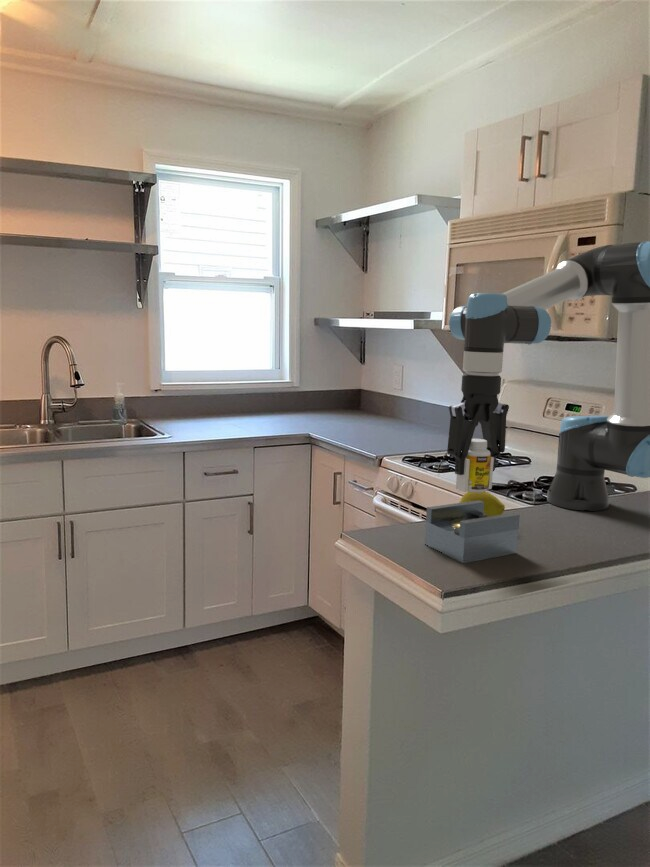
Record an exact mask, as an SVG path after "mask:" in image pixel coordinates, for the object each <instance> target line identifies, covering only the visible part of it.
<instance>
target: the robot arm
mask: <svg viewBox="0 0 650 867" xmlns="http://www.w3.org/2000/svg"><path fill="white" fill-rule="evenodd" d="M593 296H611V305H612V306H613V307H614V308H615V309H616V310H617V312H618V313H617V314H618V315H617V332H616V333H617V336H616V338H617V339H616V340H617V341H616V356H615V358H616V359H615V383H614V384H615V385H614V400H613V401H614V404H613V413H612V414H610V415H602V414H601V415H573V416H570V415H569V416H565V417H564V418H562V419H561V423H560V429H559V432H558V446H557V460H556V470H555V475H554V476H553V478H552V481H551V484H550V486H549V488H548V490H547V493H546V494H547V495H546V501H547V502H548V503H549V504H551V505H554V506H557V507H561V508H564V509H569V510H576V511H584V510H589V511H591V512H592V511H593V512H594V511H597V512H598V511H604V510H607V509H608V508H609V507H610V496H609V495H608V489H607V484H606V480H605V471H608V472H614V473H618V474H621V475H626V476H628V477H631V478H632V477H633V478H634V477H636V478H641V479H647V478H650V241H649V240H646V241H641V242H640V241H638V242H628V243H620V244H618V243H617V244H606V245H602V246H597V247H594V248H591V249H589V250H587V251H585V252H582V253H579V254H578V255H575V256H573V257H570V258H569V259H566V260H564V261H562V262H560V263H559V264H557V266H556V267H555V269H554V270H552V271H549V272H547V273H546V274H543V275H540V276H538V277H536V278H533V279H532V280H530V281H526V282H525V283H523V284H520V285H518V286H516V287H514V288H512V289H509V290H507V291H505V292H502V293H492V292H491V293H490V292H489V293H488V292H477V293H472V294H470V295H469V296H468V299H467V304H466V305H460V306H457V307H456V308H454V310H453V311H452V312H451V314H450V316H449V320H448V326H449V327H448V328H449V331H450V334H451V335H452V336H453V337H454V338H455V339H457V340H460V341H461V340H462V341H464V345H463V346H464V348H463V358H462V359H463V361H462V371H463V372H465V373H463V374H462V375H461V387H460V389H461V393H462V394H463V395H462V399H461V400H460V403H458V404H455V405H453V404H450V405H449V407H448V410H449V416H450V419H449V431H448V437H447V438H448V441H447V450H446V451H447V452H446V453H447V455H449V456H451V457H454V459H455V460H454V462H455V463H454V473H455V475H456V480H455V489H456V490H458V491H460V492H461V491H462V492H464V493H467V492H468V479H469V465H470V459H467V458H466V457H467V454H468V451H469V447H470V444H471V441H472V439H473V437H474V433H475V430H476V427H478V425H479V424H480V427H481V433H482V439H484V440H487V450H489V451H490V467H489V481H488V489H487V490H491V489H492V488H493V487H492V486H493V476H494V475H493V474H494V472H495V470H496V461H497V460H496V459H497V458H500V457H501V456H502V455H501V453H504V452H505V450H506V430H507V416H508V412H509V408H510V407H509V406H510V405H509V404H507V403H502V402H499V398H498V395H500V394H501V390H502V389H501V387H502V377H501V375H500V374H502V372H503V361H504V360H503V359H504V348H505V344H516V345H517V344H518V345H519V344H520V345H523V344H524V345H533V344H539V343H542V342H543V341H545V340H546V339H547V338H548V336H549V335H550V333H551V329H552V319H551V316H550V314H549V313H548V311H547V310H549V309H550V308H553V307H554V306H557V305H559V304H561V303H563V302H565V301H567V300H568V301H577V300H580V299H581V298H585V297H593ZM589 511H588V512H589Z"/></svg>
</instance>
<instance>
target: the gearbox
mask: <svg viewBox="0 0 650 867" xmlns="http://www.w3.org/2000/svg"><path fill="white" fill-rule="evenodd" d="M483 510H484V502H482V501H480V500H477V501H470V502H462V503H459V502H456V503H450V504H449V503H448V504H442V505H434V506H428V507H426V519H425V534H424V535H425V536H424V545H425V544H426V545H425V546H427V545H428V546H427V547H428V548H430V549H433V548H434V549H433V550H435V549H436V550H435V551H437V550H438V551H437V552H439V551H440V552H439V553H441V552H442V553H441V554H443V555H445V556H447V557H449V558H451V559H453V560H455V561H457V562H459V563H461V564H467V563H468V564H469V563H473V562H478V561H483V560H488V559H489V560H490V559H493V558H499V557H503V556H504V557H505V556H509V555H515V554H517V553H518V544H519V543H518V540H519V528H520V525H519V524H520V515H521V514H518V513H515V512H510V513H505V514H504V513H503V514H502V515H497V516H490V517H488V515H487V514H485V513H483Z"/></svg>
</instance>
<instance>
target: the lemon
mask: <svg viewBox="0 0 650 867" xmlns="http://www.w3.org/2000/svg"><path fill="white" fill-rule="evenodd" d="M477 500H480V501H482V502H484V510H483V513H485V514H487V515H488V517H490V516H497V515H503V514H504V512H505V509H506V508H505V504H503V503H502V501H500V500H499V499H498V497H497V496H495V495H494V494H491V493H489V492H488V491H485V492H481V493H474V492H464V494H463V496H462V497H461V498H460V500H459V502H458V503H462V502H470V501H477Z"/></svg>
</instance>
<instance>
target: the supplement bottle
mask: <svg viewBox="0 0 650 867" xmlns="http://www.w3.org/2000/svg"><path fill="white" fill-rule="evenodd" d="M466 458H467V459H470V465H469V479H468V492H474V493H481V492H488V490H489V489H488V481H489V467H490V451H489V450H487V440H484V439H483V438H482V439H481V438H472V441H471V444H470V447H469V451H468V454H467V457H466Z"/></svg>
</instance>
